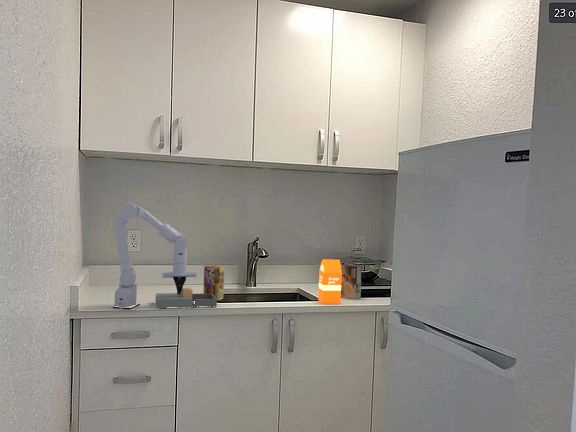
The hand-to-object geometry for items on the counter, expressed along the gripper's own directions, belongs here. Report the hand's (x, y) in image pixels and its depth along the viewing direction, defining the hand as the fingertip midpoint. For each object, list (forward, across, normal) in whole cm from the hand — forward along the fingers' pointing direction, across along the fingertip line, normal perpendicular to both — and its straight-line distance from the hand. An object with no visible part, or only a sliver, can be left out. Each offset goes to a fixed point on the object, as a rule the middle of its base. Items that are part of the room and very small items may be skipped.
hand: (179, 293), depth 222 cm
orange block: (+1, +3, 0) cm, 3 cm away
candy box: (+5, +17, +11) cm, 21 cm away
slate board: (+5, -2, 0) cm, 5 cm away
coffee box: (+5, +84, +6) cm, 85 cm away
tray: (+5, +10, 0) cm, 11 cm away
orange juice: (+5, +70, -2) cm, 70 cm away
